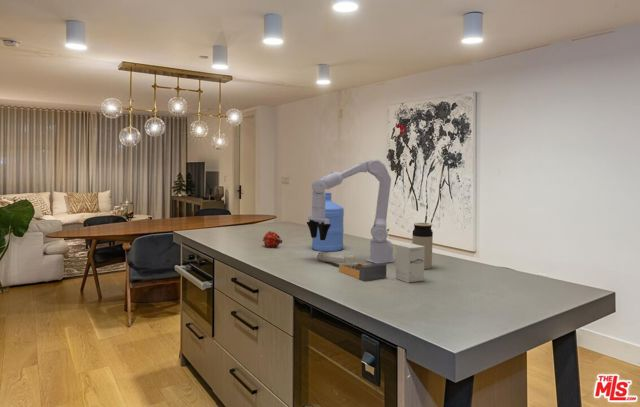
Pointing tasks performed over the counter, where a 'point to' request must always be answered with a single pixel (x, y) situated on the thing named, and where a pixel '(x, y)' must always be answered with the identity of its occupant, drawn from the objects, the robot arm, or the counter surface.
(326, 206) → the water jug
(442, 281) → the counter surface
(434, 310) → the counter surface
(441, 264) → the counter surface
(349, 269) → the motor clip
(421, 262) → the supplement box
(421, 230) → the travel mug
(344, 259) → the electric toothbrush
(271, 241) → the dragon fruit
